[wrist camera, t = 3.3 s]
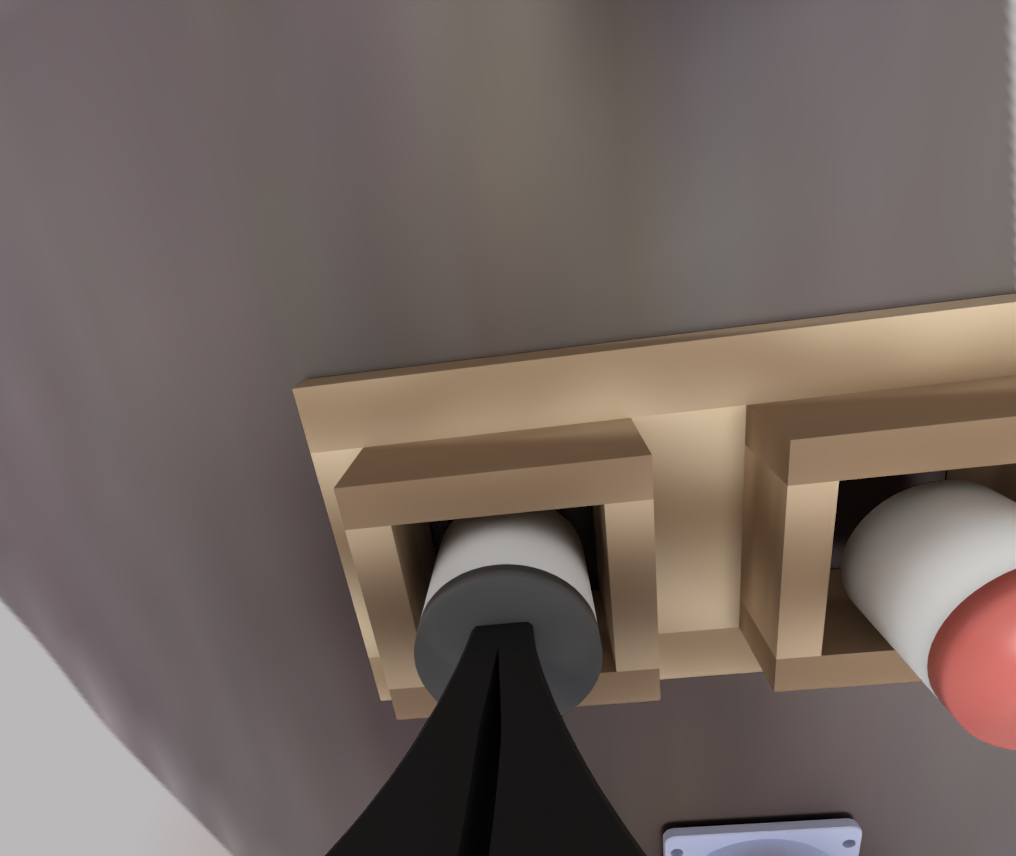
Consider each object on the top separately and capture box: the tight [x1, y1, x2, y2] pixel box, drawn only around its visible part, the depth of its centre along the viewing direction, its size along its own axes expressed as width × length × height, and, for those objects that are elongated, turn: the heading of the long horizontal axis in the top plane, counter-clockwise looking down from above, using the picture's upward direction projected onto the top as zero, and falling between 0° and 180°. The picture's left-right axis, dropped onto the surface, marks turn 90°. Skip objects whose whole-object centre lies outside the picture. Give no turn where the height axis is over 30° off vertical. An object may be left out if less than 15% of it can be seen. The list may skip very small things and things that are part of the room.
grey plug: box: [414, 509, 603, 716], centre depth 14 cm, size 4×4×4 cm
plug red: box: [841, 480, 1016, 750], centre depth 12 cm, size 4×4×4 cm
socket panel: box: [292, 293, 1016, 720], centre depth 15 cm, size 12×22×4 cm, turn 97°
